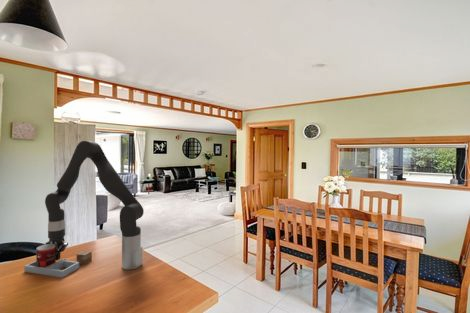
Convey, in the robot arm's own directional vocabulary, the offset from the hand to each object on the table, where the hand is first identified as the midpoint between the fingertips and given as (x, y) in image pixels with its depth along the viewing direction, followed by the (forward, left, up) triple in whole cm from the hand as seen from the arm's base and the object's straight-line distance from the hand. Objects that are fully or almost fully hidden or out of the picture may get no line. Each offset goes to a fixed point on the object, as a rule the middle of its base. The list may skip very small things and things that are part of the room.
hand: (57, 259), depth 132 cm
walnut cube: (-13, -4, -2) cm, 14 cm away
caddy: (-5, +6, -2) cm, 8 cm away
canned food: (0, +6, -2) cm, 6 cm away
